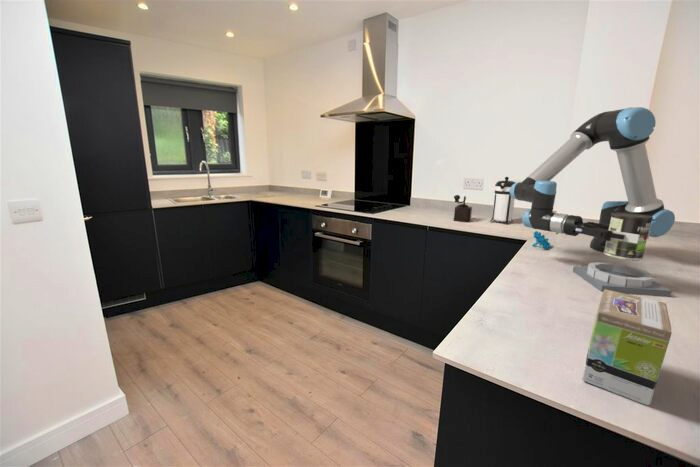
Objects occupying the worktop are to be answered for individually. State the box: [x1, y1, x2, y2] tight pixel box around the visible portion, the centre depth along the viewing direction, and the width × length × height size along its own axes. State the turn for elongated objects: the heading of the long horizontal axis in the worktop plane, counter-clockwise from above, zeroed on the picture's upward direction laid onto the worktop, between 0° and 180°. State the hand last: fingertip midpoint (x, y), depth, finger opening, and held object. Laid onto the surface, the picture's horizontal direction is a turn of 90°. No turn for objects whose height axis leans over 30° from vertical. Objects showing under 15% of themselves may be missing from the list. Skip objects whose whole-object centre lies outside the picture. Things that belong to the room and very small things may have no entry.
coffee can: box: [603, 212, 653, 261], centre depth 105 cm, size 10×10×14 cm
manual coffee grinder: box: [453, 194, 473, 223], centre depth 211 cm, size 16×11×18 cm
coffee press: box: [489, 176, 516, 225], centre depth 207 cm, size 17×16×30 cm
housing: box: [572, 261, 672, 298], centre depth 108 cm, size 19×19×4 cm
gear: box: [531, 230, 551, 250], centre depth 152 cm, size 11×6×10 cm
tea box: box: [581, 289, 672, 406], centre depth 61 cm, size 15×10×15 cm, turn 138°
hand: (643, 237), depth 101 cm, fingers closed on coffee can, 10 cm apart
